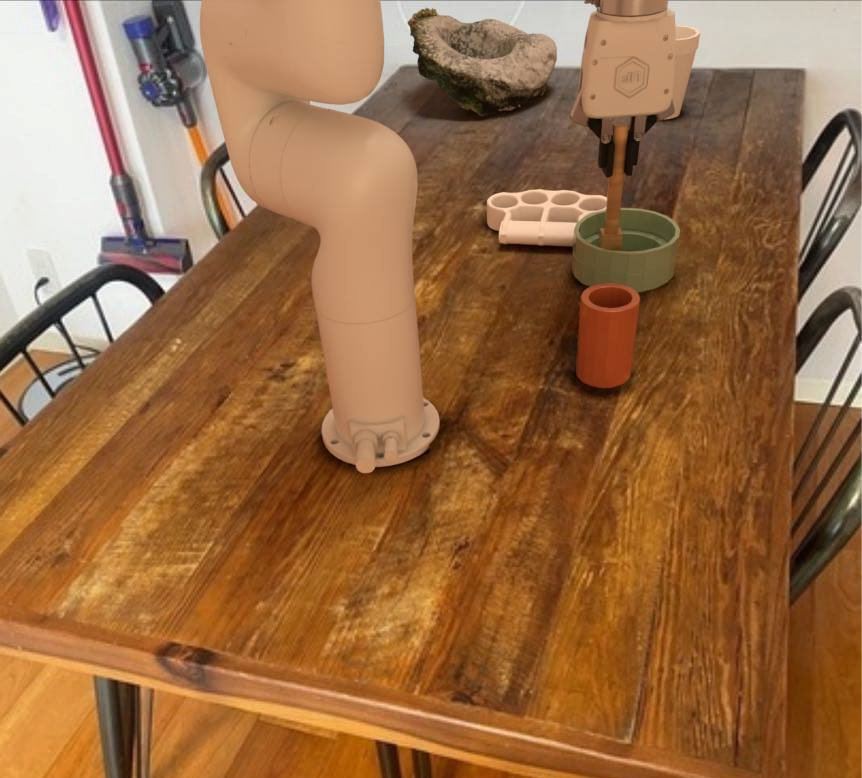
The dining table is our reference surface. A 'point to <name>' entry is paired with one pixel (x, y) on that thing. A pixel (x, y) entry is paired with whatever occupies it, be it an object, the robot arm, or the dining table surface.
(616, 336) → the crock
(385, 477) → the dining table surface
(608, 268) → the bowl
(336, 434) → the robot arm
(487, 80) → the stone basin
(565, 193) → the white brass knuckles
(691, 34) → the foam cup
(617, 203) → the paddle
